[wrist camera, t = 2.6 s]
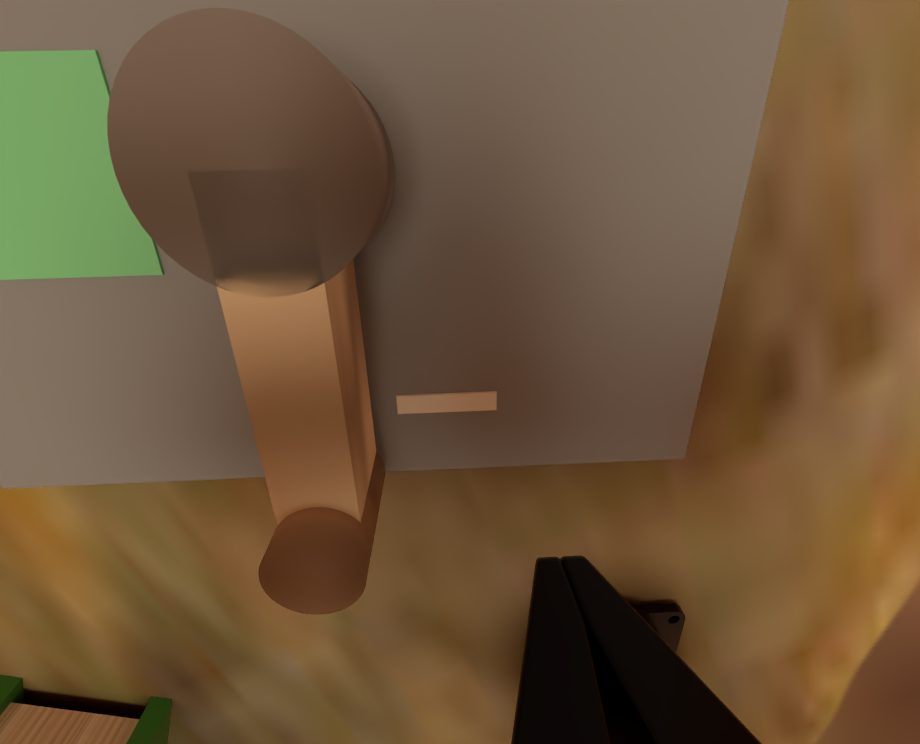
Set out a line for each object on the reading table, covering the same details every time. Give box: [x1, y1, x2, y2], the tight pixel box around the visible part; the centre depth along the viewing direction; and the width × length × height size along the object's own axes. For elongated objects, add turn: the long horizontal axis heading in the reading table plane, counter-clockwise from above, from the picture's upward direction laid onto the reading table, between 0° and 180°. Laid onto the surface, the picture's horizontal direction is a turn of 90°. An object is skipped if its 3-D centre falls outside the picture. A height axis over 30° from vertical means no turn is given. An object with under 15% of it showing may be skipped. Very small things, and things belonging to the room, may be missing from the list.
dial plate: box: [0, 0, 789, 489], centre depth 11 cm, size 18×22×2 cm
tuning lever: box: [107, 8, 395, 614], centre depth 10 cm, size 12×4×4 cm, turn 1°
